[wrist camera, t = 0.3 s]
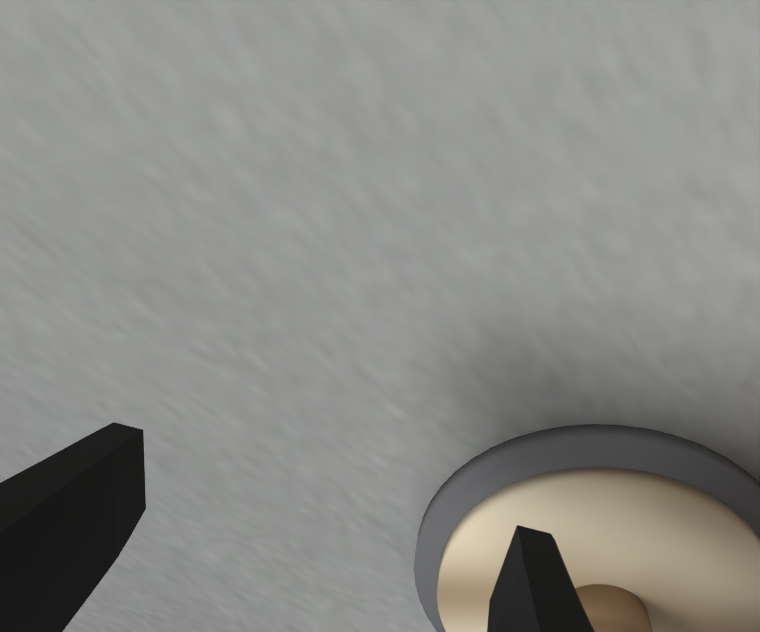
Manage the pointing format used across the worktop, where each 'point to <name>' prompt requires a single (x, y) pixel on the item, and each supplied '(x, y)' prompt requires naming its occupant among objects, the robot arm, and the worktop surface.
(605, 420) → the worktop surface
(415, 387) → the worktop surface
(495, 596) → the robot arm
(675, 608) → the lid
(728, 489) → the mat
